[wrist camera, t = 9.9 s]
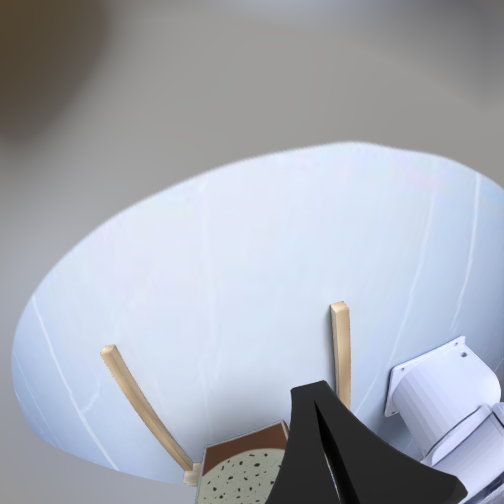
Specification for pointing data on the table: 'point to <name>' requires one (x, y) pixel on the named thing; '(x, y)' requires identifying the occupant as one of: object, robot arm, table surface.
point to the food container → (242, 467)
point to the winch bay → (161, 433)
